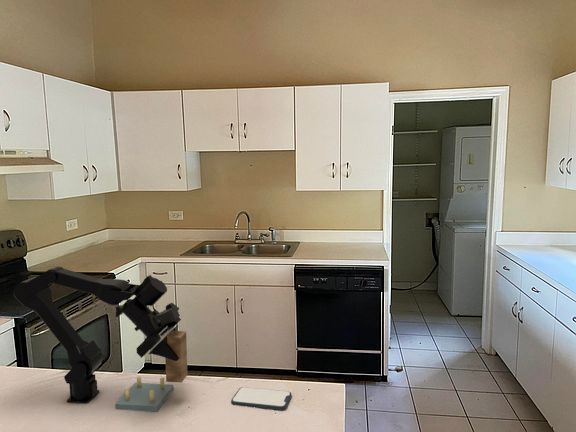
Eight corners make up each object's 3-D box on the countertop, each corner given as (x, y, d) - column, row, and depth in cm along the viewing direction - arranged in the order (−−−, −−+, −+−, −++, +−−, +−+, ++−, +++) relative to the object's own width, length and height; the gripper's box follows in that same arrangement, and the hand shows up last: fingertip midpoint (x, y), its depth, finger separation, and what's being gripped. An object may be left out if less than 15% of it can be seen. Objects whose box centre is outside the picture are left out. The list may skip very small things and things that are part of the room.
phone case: (229, 407, 123) (285, 413, 119) (229, 401, 123) (285, 407, 119) (240, 391, 131) (292, 396, 127) (240, 386, 131) (292, 391, 127)
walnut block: (166, 381, 122) (164, 336, 121) (172, 374, 127) (171, 330, 125) (181, 382, 122) (180, 337, 120) (187, 375, 126) (186, 331, 125)
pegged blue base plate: (115, 409, 121) (114, 393, 120) (135, 387, 133) (134, 373, 132) (157, 411, 119) (156, 395, 119) (173, 389, 131) (173, 375, 131)
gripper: (146, 308, 113) (188, 351, 113) (173, 288, 131) (210, 325, 131) (118, 336, 115) (160, 379, 115) (149, 312, 133) (185, 349, 133)
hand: (180, 356), depth 123 cm, fingers closed on walnut block, 4 cm apart
